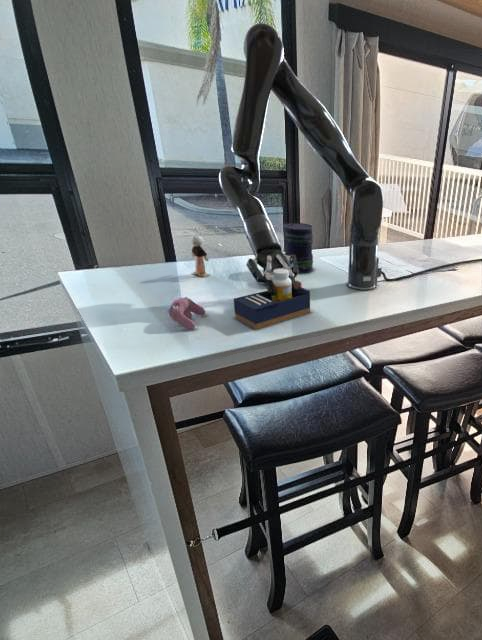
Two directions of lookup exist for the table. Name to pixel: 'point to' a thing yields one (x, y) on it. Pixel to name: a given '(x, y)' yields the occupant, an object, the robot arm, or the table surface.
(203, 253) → the grandmother figurine
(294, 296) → the navy storage tray
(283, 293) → the supplement bottle
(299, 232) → the storage jar
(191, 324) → the video game controller
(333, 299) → the table surface
